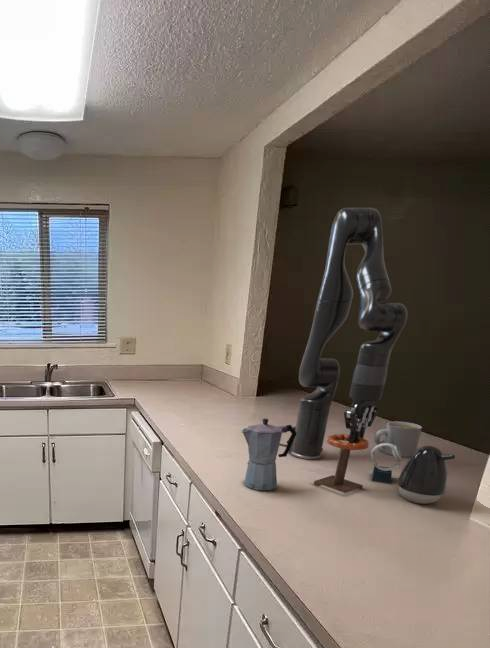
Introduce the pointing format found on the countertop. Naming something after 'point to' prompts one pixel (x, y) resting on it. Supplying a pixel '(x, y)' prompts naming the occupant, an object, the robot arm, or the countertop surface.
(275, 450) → the moka pot
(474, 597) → the countertop surface
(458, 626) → the countertop surface
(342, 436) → the ring
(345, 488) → the stand
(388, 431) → the coffee mug
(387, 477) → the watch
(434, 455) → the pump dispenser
